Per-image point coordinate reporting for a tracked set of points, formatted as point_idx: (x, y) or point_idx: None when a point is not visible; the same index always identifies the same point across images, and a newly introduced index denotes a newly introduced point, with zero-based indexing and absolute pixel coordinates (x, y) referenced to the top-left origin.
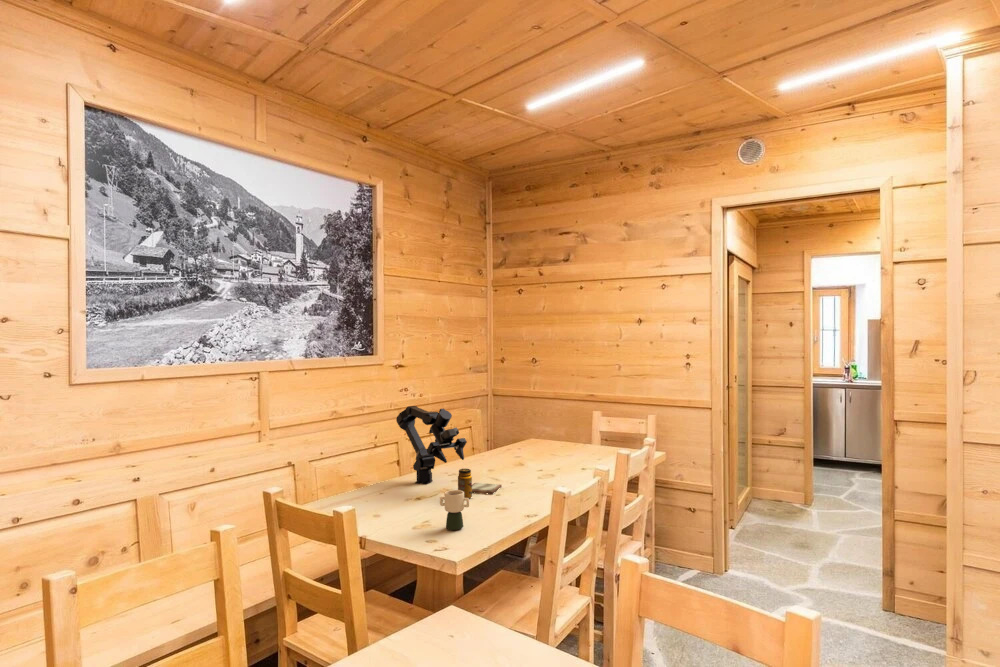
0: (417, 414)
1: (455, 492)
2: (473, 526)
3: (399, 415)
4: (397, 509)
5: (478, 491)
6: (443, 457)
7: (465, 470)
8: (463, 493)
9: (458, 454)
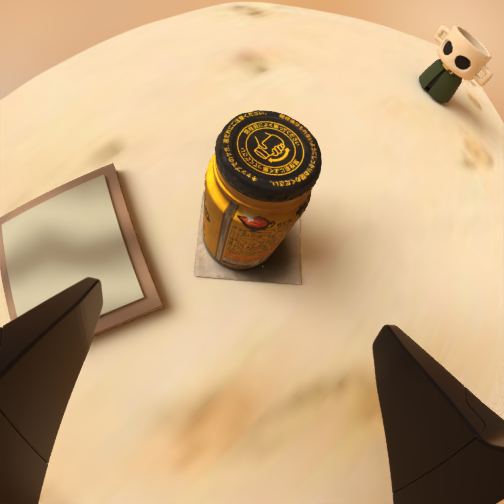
0: None
1: (466, 45)
2: (396, 67)
3: None
4: (491, 310)
5: (133, 229)
6: (436, 362)
7: (277, 137)
8: (457, 25)
9: (53, 426)
